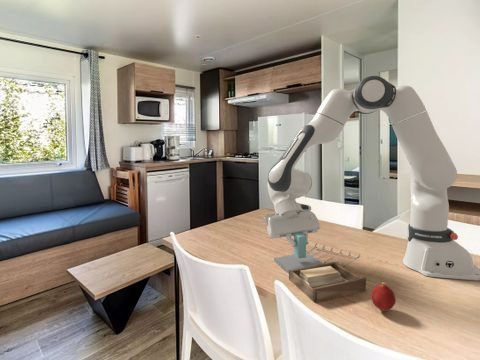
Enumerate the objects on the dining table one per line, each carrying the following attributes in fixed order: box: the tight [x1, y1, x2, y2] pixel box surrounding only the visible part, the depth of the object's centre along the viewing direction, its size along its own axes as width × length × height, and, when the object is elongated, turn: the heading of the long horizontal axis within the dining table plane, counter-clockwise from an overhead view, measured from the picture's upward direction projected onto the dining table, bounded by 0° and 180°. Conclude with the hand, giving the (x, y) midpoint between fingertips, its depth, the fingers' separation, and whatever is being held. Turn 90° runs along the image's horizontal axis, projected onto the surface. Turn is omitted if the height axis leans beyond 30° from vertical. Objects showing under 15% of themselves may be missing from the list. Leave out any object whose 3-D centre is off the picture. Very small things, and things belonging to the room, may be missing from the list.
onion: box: [370, 282, 397, 312], centre depth 80 cm, size 6×6×8 cm
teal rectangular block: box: [293, 233, 307, 259], centre depth 108 cm, size 4×3×8 cm
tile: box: [273, 251, 324, 275], centre depth 109 cm, size 14×14×1 cm
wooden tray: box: [288, 261, 367, 303], centre depth 95 cm, size 15×18×4 cm
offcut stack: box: [299, 266, 344, 288], centre depth 98 cm, size 6×13×3 cm, turn 109°
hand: (300, 245), depth 108 cm, fingers closed on teal rectangular block, 3 cm apart
